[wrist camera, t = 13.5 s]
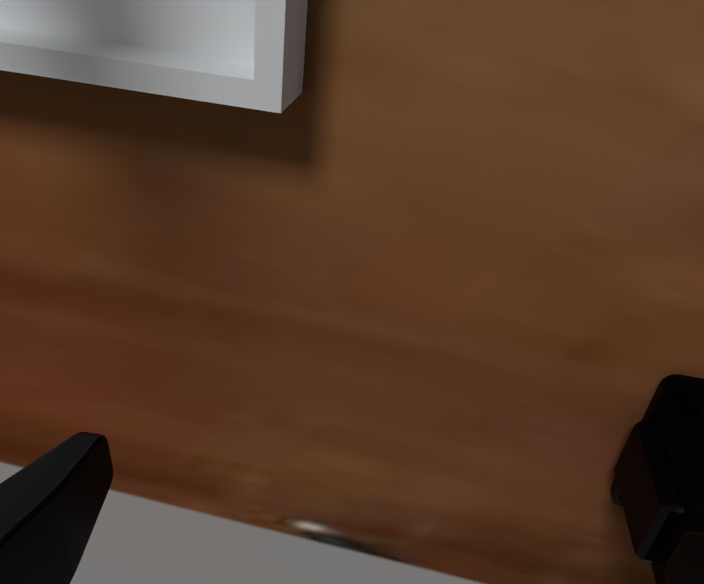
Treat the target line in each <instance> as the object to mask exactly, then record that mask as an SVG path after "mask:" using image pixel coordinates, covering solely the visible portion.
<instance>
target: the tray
mask: <svg viewBox="0 0 704 584" xmlns="http://www.w3.org/2000/svg"><path fill="white" fill-rule="evenodd" d="M307 6H308V0H0V70H3V71H10V72H16V73H23V74H29V75H36V76H42V77H49V78H55V79H62V80H68V81H74V82H81V83H87V84H94V85H100V86H107V87H113V88H120V89H126V90H133V91H139V92H146V93H152V94H158V95H165V96H171V97H178V98H184V99H191V100H197V101H204V102H210V103H217V104H223V105H230V106H236V107H242V108H249V109H255V110H262V111H268V112H275V113H282V112H283V111H284V110H285V109H286V108H287V107H288V106H289V105H290V104H291V103H292V102H293V101H294V100H295V99H296V98H297V97H298V96H299V95H300V94H301V93H302V89H303V72H304V56H305V39H306V22H307Z"/></svg>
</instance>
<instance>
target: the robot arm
mask: <svg viewBox="0 0 704 584" xmlns="http://www.w3.org/2000/svg"><path fill="white" fill-rule="evenodd" d="M675 387H681V388H680V390H677V391H671V389H673V388H675ZM615 474H616V479H615V481H614V483H613V485H612V487H611V494H612V499H613V501H614V502H615V503H616V504H617V505H620V506H623V507H624V511H625V515H626V519H627V523H628V528H629V532H630V536H631V540H632V544H633V548H634V552H635V554H636V555H637V557H638V558H639V560H641V561H644V562H649V563H651V567H652V571H653V574H654V578H655V582H656V584H704V379H701V378H695V377H690V376H684V375H670V376H667V377H665V378H664V379H663V380H662V381H661V382H660V384H659V386H658V388H657V391H656V393H655V395H654V397H653V399H652V401H651V403H650V406H649V408H648V410H647V412H646V414H645V416H644V418H643V420H642V421H639V422H638V423H637V424H635V426H634V428H633V430H632V432H631V434H630V437H629V439H628V441H627V443H626V445H625V447H624V450H623V452H622V454H621V456H620V458H619V461H618V463H617V465H616V467H615ZM112 478H113V466H112V461H111V456H110V450H109V445H108V441H107V439H106V437H105V436H104V435H100V434H94V433H88V432H80V433H77V434H75V435H73V436H72V437H70V438H69V439H67V440H66V441H64V442H63V443H61V444H60V445H58V446H57V447H55V448H54V449H52V450H51V451H49V452H48V453H46V454H45V455H43V456H41V457H40V458H38V459H37V460H35V461H34V462H32V463H31V464H29V465H28V466H26V467H25V468H23V469H22V470H20V471H19V472H17V473H16V474H14V475H13V476H11V477H10V478H8V479H7V480H5V481H4V482H2V483H0V584H70V582H71V580H72V578H73V576H74V574H75V572H76V569H77V567H78V565H79V562H80V560H81V557H82V555H83V553H84V550H85V548H86V545H87V543H88V540H89V538H90V535H91V533H92V530H93V528H94V525H95V523H96V520H97V518H98V515H99V513H100V510H101V508H102V505H103V503H104V500H105V498H106V495H107V493H108V490H109V488H110V485H111V482H112Z"/></svg>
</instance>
